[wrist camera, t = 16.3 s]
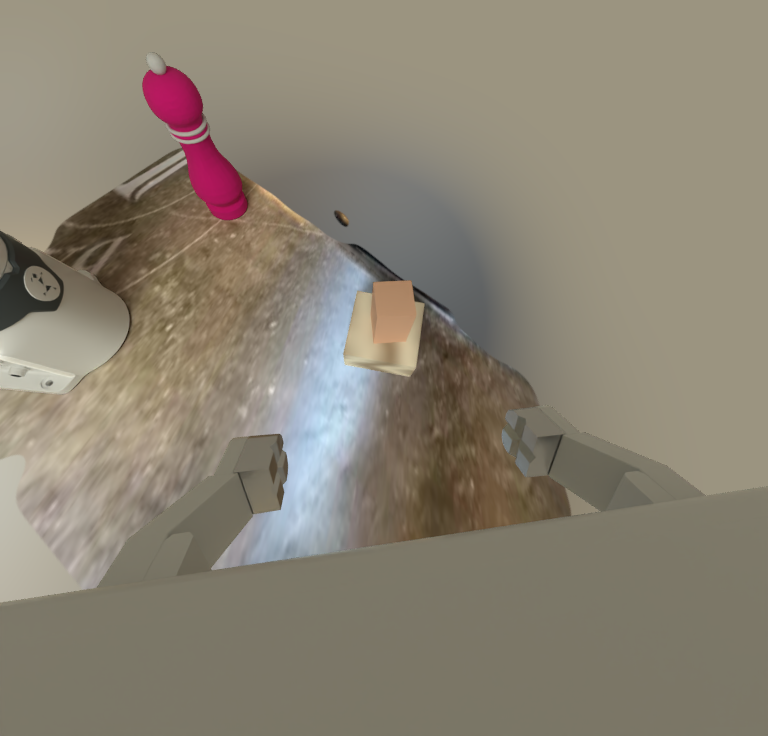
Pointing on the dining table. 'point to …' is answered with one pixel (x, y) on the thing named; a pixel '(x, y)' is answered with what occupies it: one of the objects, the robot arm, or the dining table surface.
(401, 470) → the dining table surface
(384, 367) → the birch block
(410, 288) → the terracotta block
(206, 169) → the pepper mill
